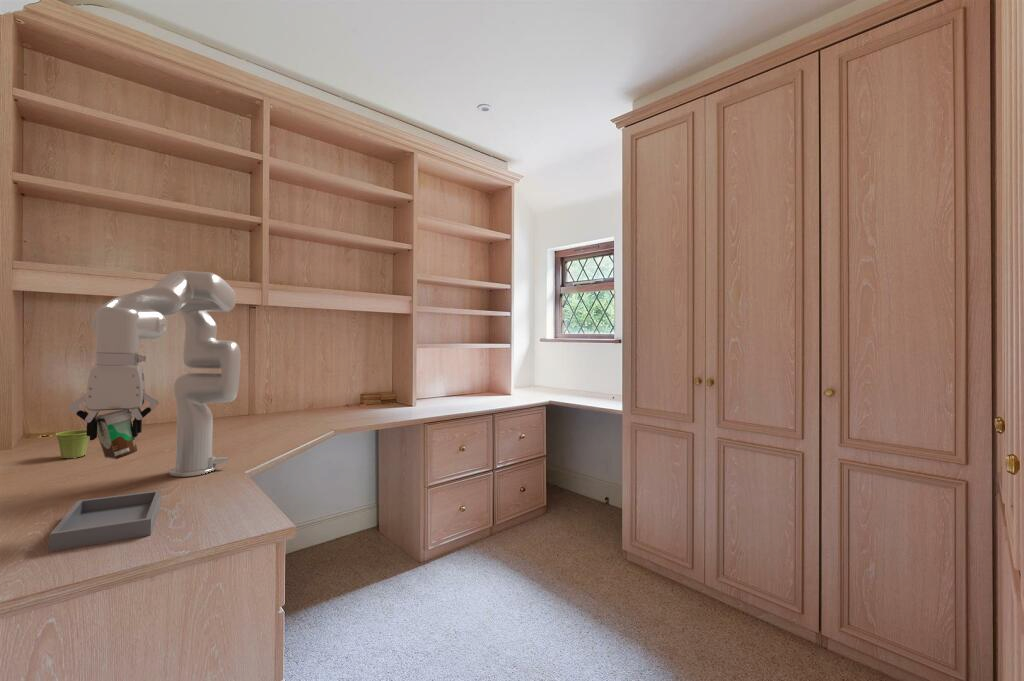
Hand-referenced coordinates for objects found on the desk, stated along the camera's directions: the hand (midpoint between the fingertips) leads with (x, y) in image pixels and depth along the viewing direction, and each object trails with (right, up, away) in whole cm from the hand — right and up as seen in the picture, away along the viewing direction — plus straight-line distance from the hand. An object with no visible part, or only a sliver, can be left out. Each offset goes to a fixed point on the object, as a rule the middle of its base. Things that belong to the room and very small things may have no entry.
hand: (114, 437), depth 106 cm
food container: (+1, -4, +2) cm, 5 cm away
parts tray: (0, -20, -1) cm, 20 cm away
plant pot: (-62, -19, +54) cm, 84 cm away
